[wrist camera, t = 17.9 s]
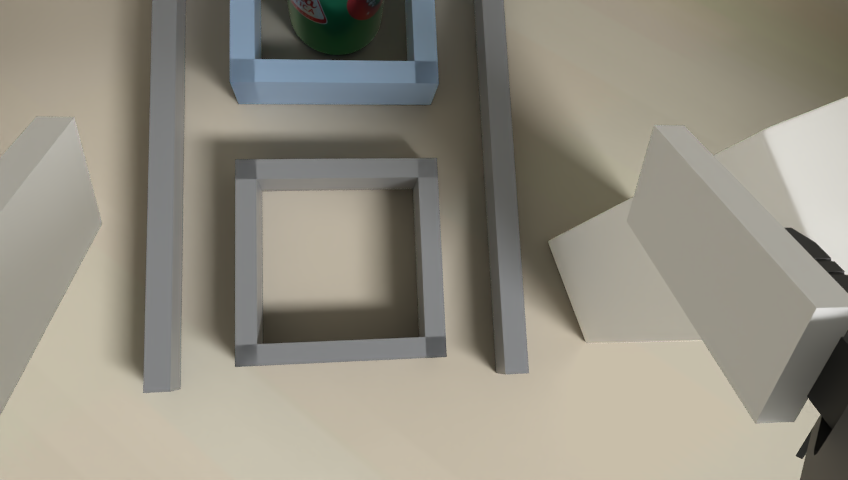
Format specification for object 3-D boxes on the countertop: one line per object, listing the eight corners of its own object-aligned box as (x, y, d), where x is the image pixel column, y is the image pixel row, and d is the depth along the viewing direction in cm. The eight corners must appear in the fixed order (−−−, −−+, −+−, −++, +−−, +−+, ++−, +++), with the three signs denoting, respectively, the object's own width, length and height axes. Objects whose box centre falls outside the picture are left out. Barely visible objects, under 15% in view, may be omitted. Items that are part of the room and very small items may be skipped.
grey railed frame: (489, -76, 39) (501, -111, 36) (518, 371, 35) (534, 373, 32) (164, -89, 37) (149, -128, 34) (155, 390, 32) (136, 394, 30)
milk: (640, 208, 37) (1057, 10, 16) (681, 309, 37) (1175, 246, 15) (543, 241, 36) (850, 78, 15) (584, 347, 36) (967, 336, 14)
